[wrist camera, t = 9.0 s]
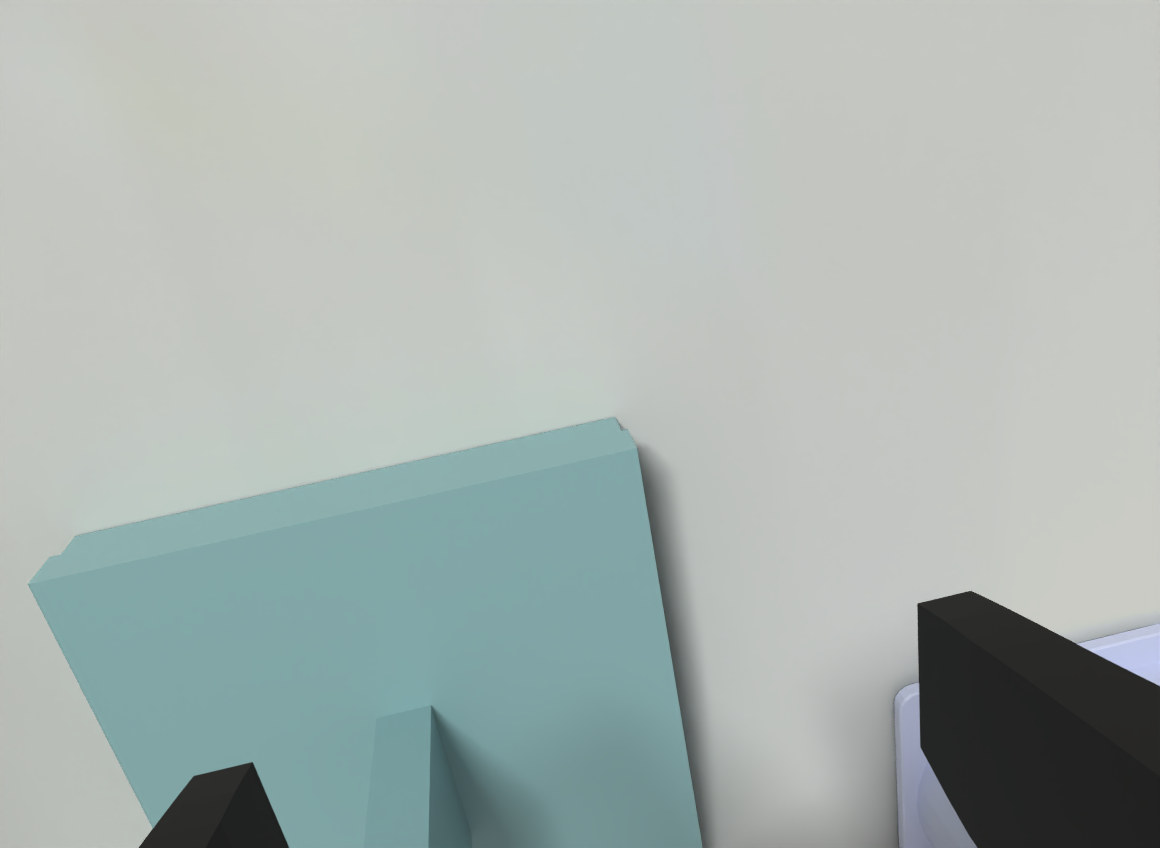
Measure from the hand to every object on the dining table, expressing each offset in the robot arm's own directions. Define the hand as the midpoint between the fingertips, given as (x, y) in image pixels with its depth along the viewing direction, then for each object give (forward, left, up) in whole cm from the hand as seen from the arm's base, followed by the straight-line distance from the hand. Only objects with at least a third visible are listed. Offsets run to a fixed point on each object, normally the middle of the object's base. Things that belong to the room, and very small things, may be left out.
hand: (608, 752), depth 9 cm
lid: (+4, +8, -10) cm, 13 cm away
